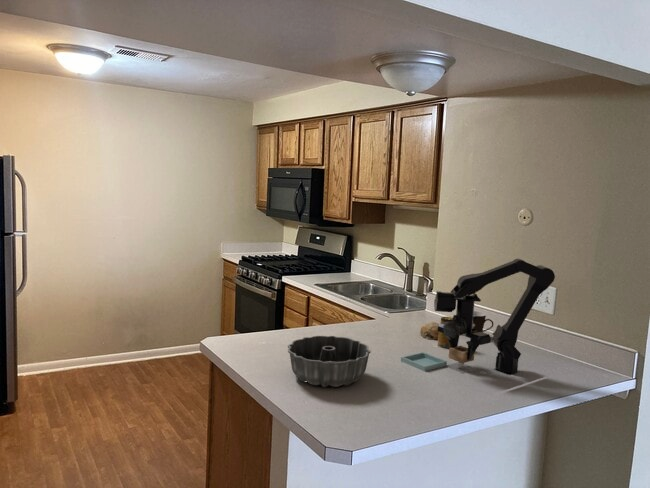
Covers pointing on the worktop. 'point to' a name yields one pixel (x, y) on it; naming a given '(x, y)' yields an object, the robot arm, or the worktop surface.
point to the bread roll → (430, 331)
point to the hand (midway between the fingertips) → (461, 357)
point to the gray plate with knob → (460, 367)
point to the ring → (459, 354)
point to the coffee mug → (480, 322)
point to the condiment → (442, 339)
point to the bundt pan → (328, 360)
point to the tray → (423, 361)
